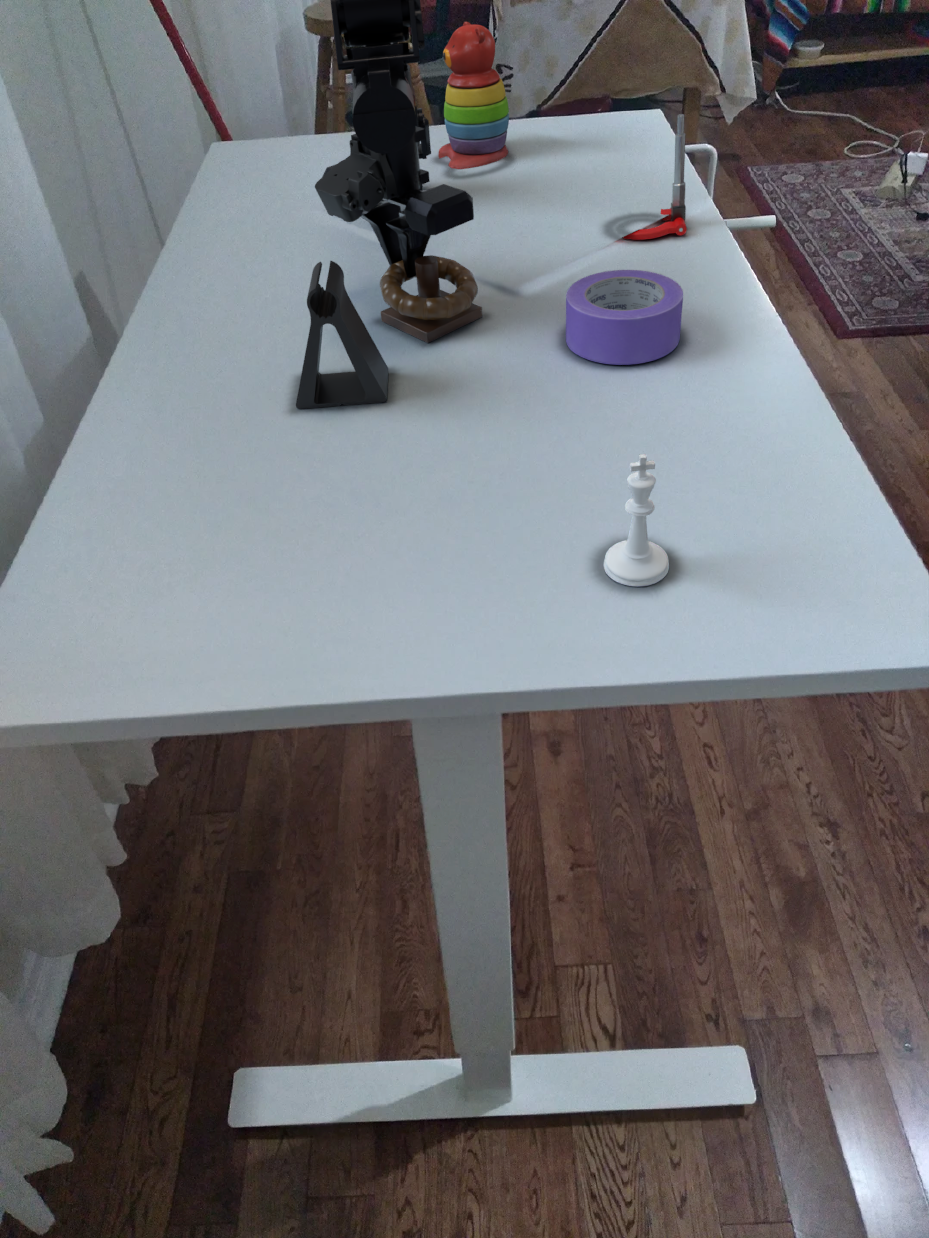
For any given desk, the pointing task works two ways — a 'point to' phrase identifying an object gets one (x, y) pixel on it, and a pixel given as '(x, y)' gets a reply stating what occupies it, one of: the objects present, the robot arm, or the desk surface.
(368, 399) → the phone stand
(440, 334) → the post
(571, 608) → the desk surface
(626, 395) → the desk surface
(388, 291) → the ring
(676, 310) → the tape roll
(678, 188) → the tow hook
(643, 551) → the chess piece
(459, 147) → the stacking bear
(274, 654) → the desk surface
